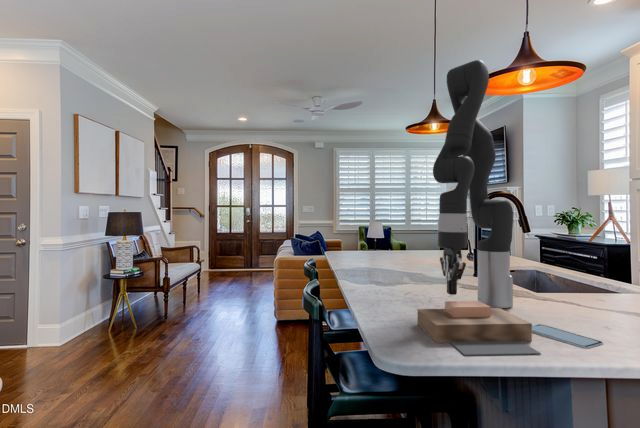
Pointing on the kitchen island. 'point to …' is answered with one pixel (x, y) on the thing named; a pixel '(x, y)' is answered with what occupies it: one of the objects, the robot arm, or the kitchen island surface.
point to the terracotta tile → (467, 309)
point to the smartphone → (565, 336)
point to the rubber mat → (494, 348)
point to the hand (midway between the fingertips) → (451, 293)
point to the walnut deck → (474, 326)
